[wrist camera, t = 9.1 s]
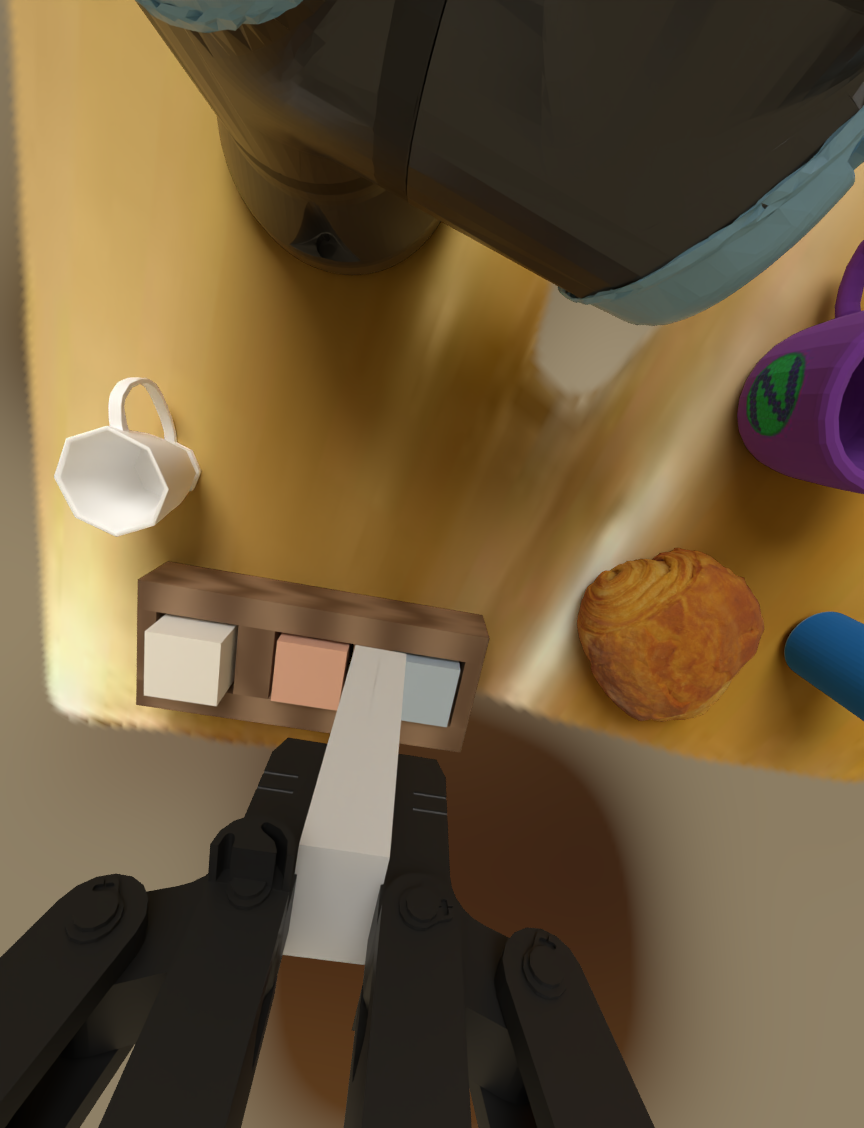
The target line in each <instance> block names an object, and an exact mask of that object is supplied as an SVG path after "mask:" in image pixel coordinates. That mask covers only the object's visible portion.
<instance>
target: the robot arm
mask: <svg viewBox="0 0 864 1128" xmlns="http://www.w3.org/2000/svg"><path fill="white" fill-rule="evenodd" d="M135 1H136V2H137V4H138V5H139V7H140V8H141V9H142V11H143V12H144V14H145V15H146V16H147V18H148V19H149V21H150V22H151V23H152V25H153V26H154V28H155V29H156V30H157V32H158V33H159V35H160V36H161V38H162V39H163V40H164V42H165V43H166V45H167V46H168V47H169V49H170V50H171V52H172V53H173V54H174V56H175V57H176V59H177V60H178V61H179V63H180V64H181V66H182V67H183V69H184V70H185V71H186V73H187V74H188V76H189V77H190V78H191V80H192V81H193V83H194V84H195V85H196V87H197V88H198V90H199V91H200V92H201V94H202V95H203V97H204V98H205V100H206V101H207V102H208V104H209V105H210V107H211V108H212V109H213V111H214V112H215V114H216V115H217V120H218V127H219V135H220V140H221V145H222V149H223V153H224V156H225V160H226V163H227V166H228V169H229V171H230V174H231V176H232V179H233V181H234V183H235V185H236V187H237V189H238V191H239V193H240V195H241V197H242V199H243V200H244V202H245V204H246V205H247V207H248V208H249V210H250V211H251V213H252V214H253V215H254V217H255V218H256V219H257V220H258V222H259V223H260V224H261V225H262V226H263V228H264V229H265V230H266V231H267V232H268V233H269V234H270V236H271V237H272V238H273V239H274V240H275V241H276V242H277V243H278V244H279V245H281V246H282V247H283V248H284V249H285V250H286V251H288V252H289V253H290V254H292V255H293V256H295V257H296V258H298V259H299V260H301V261H303V262H305V263H307V264H309V265H311V266H313V267H315V268H318V269H321V270H324V271H327V272H332V273H336V274H344V275H361V274H369V273H374V272H378V271H381V270H384V269H387V268H389V267H392V266H394V265H396V264H398V263H400V262H401V261H403V260H405V259H406V258H408V257H409V256H410V255H412V254H413V253H414V252H415V251H417V250H418V249H419V248H420V247H421V246H422V245H423V244H424V243H425V242H426V241H427V240H428V238H429V237H430V236H431V235H432V233H433V232H434V231H435V229H436V228H437V226H438V225H439V223H440V222H443V223H445V224H447V225H448V226H450V227H452V228H454V229H456V230H458V231H459V232H461V233H463V234H465V235H467V236H468V237H470V238H472V239H474V240H476V241H477V242H479V243H481V244H483V245H485V246H486V247H488V248H490V249H492V250H494V251H496V252H497V253H499V254H501V255H503V256H505V257H506V258H508V259H510V260H512V261H514V262H515V263H517V264H519V265H521V266H523V267H524V268H526V269H528V270H530V271H532V272H534V273H535V274H537V275H539V276H541V277H543V278H544V279H546V280H548V281H550V282H552V283H553V284H555V285H557V286H558V290H559V292H560V293H561V294H562V295H563V296H564V297H566V298H567V299H569V300H571V301H573V302H576V303H577V302H579V303H582V304H587V305H588V304H591V305H593V306H595V307H597V308H599V309H601V310H603V311H605V312H607V313H609V314H611V315H613V316H615V317H617V318H619V319H621V320H624V321H626V322H628V323H631V324H635V325H649V326H656V325H667V324H671V323H674V322H678V321H681V320H684V319H686V318H689V317H691V316H694V315H696V314H698V313H700V312H702V311H704V310H706V309H708V308H710V307H712V306H713V305H715V304H717V303H719V302H720V301H722V300H724V299H725V298H727V297H728V296H730V295H731V294H733V293H734V292H736V291H737V290H739V289H740V288H741V287H743V286H744V285H746V284H747V283H748V282H750V281H751V280H752V279H754V278H755V277H756V276H758V275H759V274H760V273H762V272H763V271H764V270H766V269H767V268H768V267H769V266H770V265H772V264H773V263H774V262H775V261H776V260H778V259H779V258H780V257H781V256H782V255H783V254H784V253H786V252H787V251H788V250H789V249H790V248H792V247H793V246H794V245H795V244H796V243H797V242H798V241H799V240H800V239H802V238H803V237H804V236H805V235H806V234H807V233H808V232H809V231H810V230H811V229H812V228H813V227H814V226H815V225H816V224H817V223H818V222H819V221H820V220H821V219H822V218H823V217H824V216H825V215H826V214H827V213H828V212H829V211H830V210H831V209H832V208H833V207H834V206H835V204H836V203H837V202H838V201H839V200H840V199H841V198H842V197H843V196H844V195H845V194H846V192H847V191H848V190H849V189H850V188H851V187H852V186H853V184H854V182H855V174H854V169H856V168H857V167H858V166H859V165H860V164H862V163H863V162H864V0H135ZM405 666H406V654H405V653H399V652H393V651H388V650H382V649H376V648H370V647H365V646H359V645H356V646H355V649H354V653H353V656H352V660H351V663H350V667H349V670H348V674H347V677H346V681H345V684H344V688H343V691H342V695H341V698H340V702H339V706H338V709H337V713H336V716H335V720H334V723H333V727H332V730H331V734H330V737H329V741H328V744H325V743H318V742H312V741H306V740H300V739H293V738H287V739H286V740H285V741H284V742H283V743H282V744H281V745H279V746H278V747H277V748H276V749H275V750H274V751H273V752H272V754H271V756H270V759H269V761H268V763H267V766H266V768H265V771H264V774H263V775H262V777H261V780H260V782H259V784H258V788H257V789H256V791H255V794H254V796H253V798H252V801H251V803H250V805H249V807H248V810H247V813H246V814H245V817H244V818H242V819H239V820H236V821H233V822H232V823H230V824H229V825H228V826H226V827H225V828H223V829H222V830H221V831H220V832H219V833H218V834H217V836H216V837H215V838H214V840H213V841H212V843H211V844H210V858H209V873H208V874H207V875H206V876H204V877H202V878H200V879H198V880H196V881H194V882H191V883H188V884H184V885H180V886H176V887H171V888H165V889H159V890H154V891H148V892H146V890H145V888H144V885H143V884H141V883H140V882H139V881H138V880H136V879H135V878H134V877H132V876H126V875H120V874H111V875H106V876H99V877H96V878H93V879H91V880H89V881H87V882H84V883H82V884H80V885H78V886H76V887H75V888H73V889H72V890H71V891H70V892H68V893H67V894H66V895H65V896H63V897H62V898H61V899H59V900H58V901H57V902H56V903H55V904H54V905H53V906H52V907H51V908H50V909H49V910H48V911H47V912H46V913H45V914H44V915H43V916H42V917H41V918H40V919H39V920H38V921H37V922H36V923H35V924H34V925H33V926H32V927H31V928H30V929H29V930H28V931H27V932H26V933H25V934H24V935H23V936H22V937H21V938H20V939H19V940H18V941H17V942H16V943H15V944H14V945H13V946H12V947H11V948H10V949H9V950H8V951H7V952H6V953H5V954H3V956H1V957H0V1128H80V1126H81V1125H82V1123H83V1122H84V1120H85V1119H86V1117H87V1116H88V1114H89V1113H90V1111H91V1110H92V1108H93V1107H94V1105H95V1103H96V1101H97V1100H98V1099H99V1097H100V1096H101V1094H102V1093H103V1091H104V1090H105V1088H106V1087H107V1085H108V1084H109V1082H110V1080H111V1079H112V1078H113V1076H114V1075H115V1073H116V1072H117V1070H118V1069H119V1067H120V1065H121V1064H122V1062H123V1061H124V1059H125V1058H126V1056H127V1055H128V1053H129V1052H130V1050H131V1049H132V1047H133V1046H134V1044H135V1046H134V1049H133V1051H132V1053H131V1055H130V1058H129V1060H128V1062H127V1064H126V1067H125V1069H124V1071H123V1074H122V1076H121V1078H120V1080H119V1082H118V1085H117V1087H116V1090H115V1091H114V1094H113V1096H112V1098H111V1100H110V1103H109V1105H108V1107H107V1109H106V1112H105V1114H104V1116H103V1118H102V1121H101V1123H100V1125H99V1127H98V1128H241V1125H242V1121H243V1117H244V1113H245V1109H246V1105H247V1101H248V1097H249V1093H250V1089H251V1085H252V1081H253V1077H254V1073H255V1070H256V1066H257V1061H258V1058H259V1054H260V1050H261V1046H262V1042H263V1038H264V1034H265V1030H266V1026H267V1022H268V1018H269V1013H270V1010H271V1006H272V1002H273V998H274V994H275V988H276V981H277V974H278V970H279V966H280V963H281V959H282V955H290V956H298V957H306V958H314V959H322V960H330V961H338V962H346V963H354V964H362V965H364V964H365V971H364V979H363V986H362V990H361V994H360V998H359V1003H358V1007H357V1011H356V1016H355V1019H354V1023H353V1027H352V1030H353V1031H355V1036H354V1045H353V1053H352V1062H351V1070H350V1079H349V1088H348V1097H347V1105H346V1113H345V1122H344V1128H471V1112H470V1093H469V1088H470V1092H471V1096H472V1101H473V1105H474V1109H475V1114H476V1118H477V1123H478V1127H479V1128H655V1127H654V1125H653V1123H652V1121H651V1119H650V1116H649V1114H648V1112H647V1110H646V1108H645V1105H644V1103H643V1101H642V1099H641V1097H640V1095H639V1093H638V1090H637V1088H636V1086H635V1084H634V1082H633V1079H632V1077H631V1075H630V1073H629V1071H628V1068H627V1066H626V1064H625V1062H624V1060H623V1058H622V1055H621V1053H620V1051H619V1049H618V1047H617V1044H616V1043H615V1040H614V1038H613V1036H612V1034H611V1032H610V1029H609V1027H608V1025H607V1023H606V1021H605V1018H604V1016H603V1014H602V1012H601V1010H600V1007H599V1005H598V1003H597V1001H596V999H595V997H594V994H593V992H592V990H591V988H590V986H589V983H588V981H587V979H586V977H585V975H584V973H583V970H582V968H581V966H580V964H579V963H578V961H577V960H576V958H575V957H574V955H573V953H572V952H571V950H570V949H569V948H568V947H567V946H566V945H565V944H564V943H563V942H562V941H561V940H559V938H557V937H556V936H555V935H552V934H550V933H548V932H546V931H544V930H542V929H535V928H525V929H522V930H520V931H517V932H515V933H514V934H513V935H512V936H511V938H508V937H506V936H504V935H502V934H500V933H498V932H496V931H494V930H492V929H490V928H488V927H486V926H484V925H483V924H481V923H480V922H478V921H476V920H475V919H473V918H472V917H471V916H470V915H469V914H468V913H467V912H466V911H465V910H464V909H463V908H462V906H461V905H460V903H459V902H458V900H457V899H456V897H455V894H454V892H453V889H452V886H451V880H450V866H449V845H448V822H447V801H446V777H445V775H444V774H443V772H442V770H441V768H440V766H439V764H438V762H437V760H435V759H428V758H422V757H416V756H410V755H403V754H398V751H399V739H400V727H401V714H402V702H403V690H404V678H405ZM365 960H366V961H365Z"/></svg>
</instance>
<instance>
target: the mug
mask: <svg viewBox="0 0 864 1128" xmlns="http://www.w3.org/2000/svg"><path fill="white" fill-rule="evenodd" d="M863 287H864V240H863V241H862V242H861V243H860V244H859V246H858V248H857V249H856V251H855V253H854V255H853V256H852V258H851V260H850V262H849V263H848V265H847V267H846V269H845V272H844V275H843V278H842V281H841V283H840V286H839V289H838V294H837V299H836V304H835V319H833V320H830V321H827V322H824V323H821V324H818V325H815V326H812V327H810V328H807V329H805V330H802V331H800V332H798V333H796V334H794V335H792V336H790V337H788V338H787V339H785V340H784V341H782V342H780V343H779V344H777V345H776V346H774V347H773V348H772V349H771V350H770V351H769V352H768V353H767V354H766V355H765V356H764V357H763V358H762V359H761V360H760V361H759V362H758V363H757V364H756V366H755V367H754V369H753V370H752V372H751V373H750V375H749V376H748V378H747V380H746V382H745V385H744V387H743V390H742V393H741V395H740V398H739V405H738V413H737V419H738V427H739V433H740V435H741V437H742V440H743V442H744V444H745V446H746V448H747V449H748V450H749V451H750V452H751V454H752V455H753V456H754V457H755V458H756V459H757V460H758V461H760V462H761V463H763V464H765V465H766V466H768V467H770V468H771V469H773V470H775V471H777V472H780V473H782V474H784V475H787V476H790V477H793V478H797V479H801V480H804V481H808V482H812V483H816V484H820V485H824V486H828V487H833V488H837V489H841V490H846V491H851V492H856V493H861V494H864V311H861V308H860V302H861V297H862V292H863Z"/></svg>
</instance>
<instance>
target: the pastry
mask: <svg viewBox="0 0 864 1128" xmlns="http://www.w3.org/2000/svg"><path fill="white" fill-rule="evenodd" d="M577 628H578V634H579V639H580V641H581V644H582V646H583V650H584V653H585V654H586V655H587V657H588V659H589V661H590V663H591V665H592V666H591V670H592V673H593V675H594V677H595V679H596V680H597V682H598V683H599V685H600V686H601V687H602V689H603V690H604V691H605V693H606V694H607V696H608V697H610V698H611V699H612V701H613V702H614V703H615V704H616V705H617V706H618V707H619V708H621V709H622V710H623V711H624V712H626V713H627V714H628V715H629V716H631V717H633V718H635V719H637V720H639V721H644V720H650V719H652V720H654V721H661V722H663V721H668V720H685V719H689V718H694V717H697V716H700V715H703V714H704V713H705V712H707V711H708V709H709V707H710V706H711V705H712V704H714V703H715V702H716V701H718V700H719V698H720V697H721V695H722V694H723V693H724V691H725V690H726V689H727V688H728V686H729V684H730V682H731V680H732V679H733V677H735V676H736V675H737V674H738V673H739V671H740V669H741V668H742V667H743V665H744V664H745V663H746V662H747V661H749V660H750V659H751V658H752V657H753V656H754V655H755V653H756V651H757V648H758V644H759V641H760V638H761V636H762V633H763V631H764V621H763V617H762V615H761V611H760V605H759V603H758V601H757V599H756V598H755V596H754V595H753V593H752V592H751V590H750V588H749V587H748V586H747V585H746V582H745V579H744V578H743V577H739V576H737V575H734V573H733V572H732V571H731V569H729V568H725V567H723V566H722V565H721V564H720V563H719V562H717V561H716V560H715V559H713V558H712V557H711V556H709V555H707V554H705V553H703V552H699V551H695V550H694V551H690V550H684V549H680V548H674V550H673V551H671V552H664V553H659V555H657V556H656V557H654V558H653V560H649V559H639V560H635V561H627V562H625V563H624V564H620V565H618V566H616V567H615V568H613V569H611V570H610V571H603V572H602V573H601V574H600V575H599V576H598V577H597V578H596V580H595V581H594V583H592V584H591V585H589V586H588V587H587V589H586V591H585V594H584V597H583V599H582V601H581V606H580V610H579V614H578V620H577Z"/></svg>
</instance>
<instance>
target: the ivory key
mask: <svg viewBox="0 0 864 1128" xmlns="http://www.w3.org/2000/svg"><path fill="white" fill-rule="evenodd" d="M238 627H239V625H234V624H228V623H222V622H215V621H209V620H203V619H197V618H191V617H185V616H178V615H172V614H165V615H164V616H163V617H162V618H160V619H159V620H158V621H157V622H156V623H154V624H153V625H152V626H151V627H149V628H148V629H147V630H146V631H145V647H144V696H151V697H158V698H164V699H171V700H178V701H185V702H191V703H198V704H205V705H211V706H217V705H218V704H219V702H220V701H221V699H222V698H223V696H224V695H225V693H226V692H227V690H228V689H229V687H230V686H231V685H232V683H233V682H234V677H235V664H236V652H237V639H238Z"/></svg>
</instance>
